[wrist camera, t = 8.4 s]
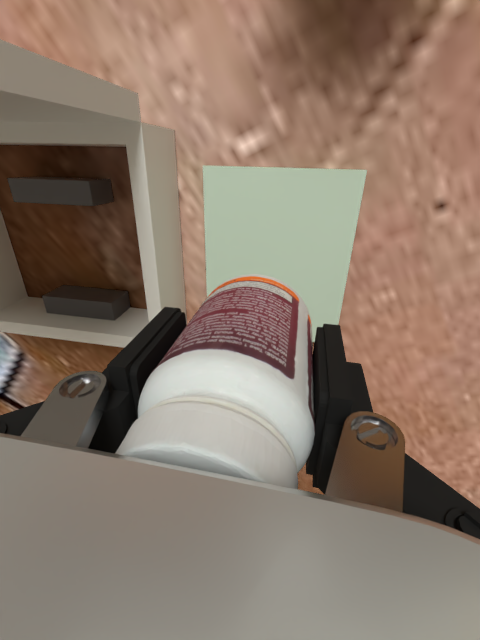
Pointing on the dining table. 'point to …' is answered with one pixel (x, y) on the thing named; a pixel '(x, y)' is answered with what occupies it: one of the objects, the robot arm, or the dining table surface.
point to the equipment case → (88, 197)
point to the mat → (284, 230)
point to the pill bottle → (234, 387)
